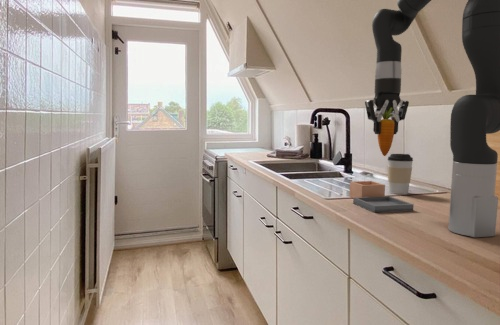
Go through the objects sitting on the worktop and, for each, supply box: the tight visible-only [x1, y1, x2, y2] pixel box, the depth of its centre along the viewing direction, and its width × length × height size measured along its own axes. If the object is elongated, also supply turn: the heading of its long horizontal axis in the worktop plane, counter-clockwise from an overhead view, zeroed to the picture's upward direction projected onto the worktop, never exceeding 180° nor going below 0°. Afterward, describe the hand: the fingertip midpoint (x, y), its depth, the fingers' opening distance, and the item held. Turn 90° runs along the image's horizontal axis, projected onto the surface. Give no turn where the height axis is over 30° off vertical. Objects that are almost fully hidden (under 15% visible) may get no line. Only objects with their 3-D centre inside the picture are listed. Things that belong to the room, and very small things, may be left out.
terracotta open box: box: [348, 180, 386, 199], centre depth 134 cm, size 9×9×6 cm
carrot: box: [377, 107, 395, 157], centre depth 118 cm, size 5×5×15 cm
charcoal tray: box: [352, 195, 414, 214], centre depth 121 cm, size 13×13×2 cm
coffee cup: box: [387, 153, 414, 195], centre depth 145 cm, size 9×9×15 cm
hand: (385, 133), depth 118 cm, fingers closed on carrot, 5 cm apart
